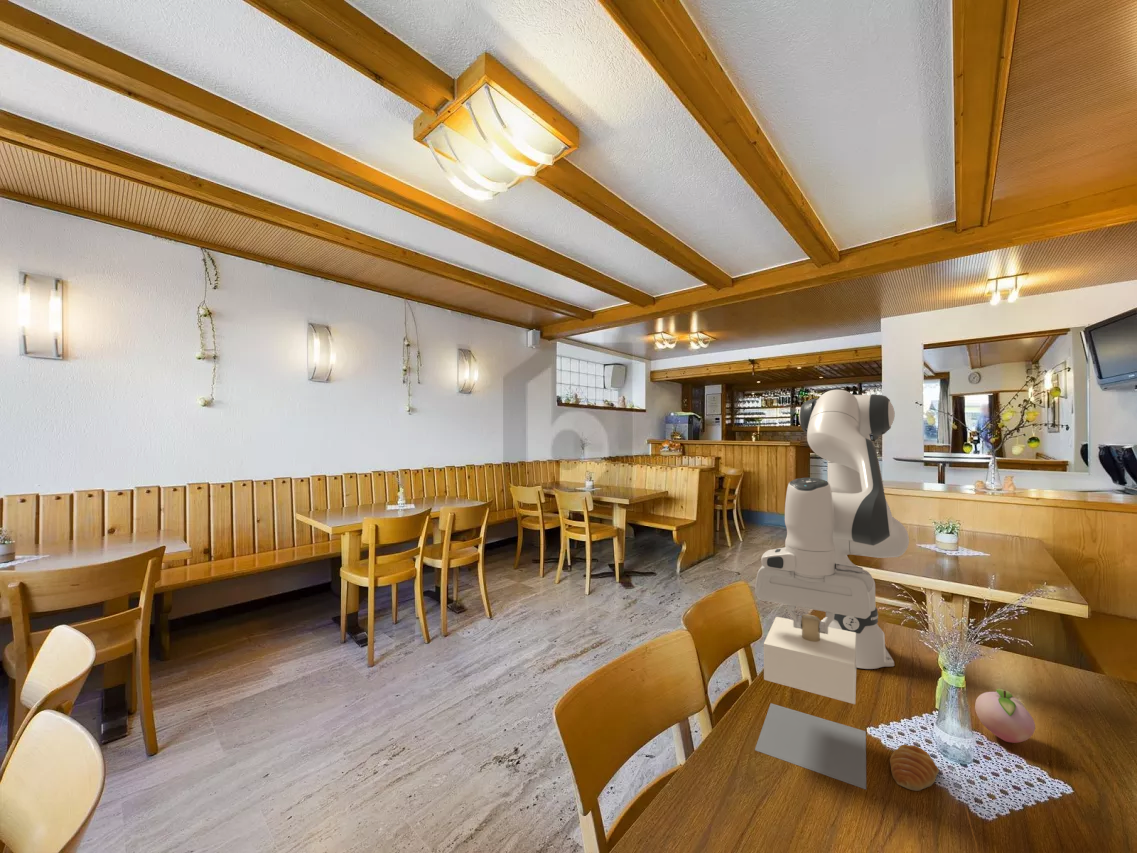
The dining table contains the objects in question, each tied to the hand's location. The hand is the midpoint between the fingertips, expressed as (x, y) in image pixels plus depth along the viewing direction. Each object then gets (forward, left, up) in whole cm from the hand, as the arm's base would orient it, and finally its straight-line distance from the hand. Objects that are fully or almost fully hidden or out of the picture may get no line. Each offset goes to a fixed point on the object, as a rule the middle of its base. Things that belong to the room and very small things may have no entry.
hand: (810, 629), depth 91 cm
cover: (0, 0, -9) cm, 9 cm away
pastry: (0, +16, -23) cm, 28 cm away
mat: (0, 0, -22) cm, 22 cm away
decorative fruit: (-21, +32, -22) cm, 44 cm away
